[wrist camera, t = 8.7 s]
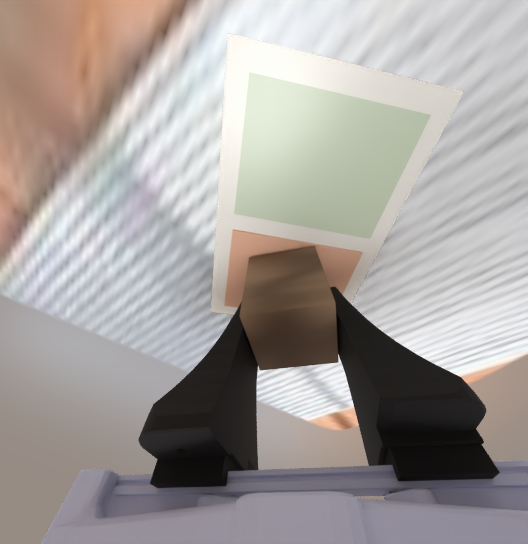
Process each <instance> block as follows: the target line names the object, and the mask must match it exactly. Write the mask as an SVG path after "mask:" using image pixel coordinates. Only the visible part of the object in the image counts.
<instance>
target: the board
mask: <svg viewBox="0 0 528 544" xmlns="http://www.w3.org/2000/svg"><path fill="white" fill-rule="evenodd" d="M463 93H464V91H460V90H456V89H452V88H448V87H444V86H440V85H436V84H432V83H428V82H424V81H419V80H415V79H411V78H407V77H403V76H399V75H395V74H391V73H387V72H383V71H379V70H375V69H371V68H367V67H363V66H359V65H355V64H351V63H347V62H343V61H339V60H335V59H331V58H327V57H323V56H319V55H315V54H311V53H306V52H302V51H298V50H294V49H290V48H286V47H282V46H278V45H274V44H270V43H266V42H262V41H258V40H254V39H250V38H246V37H242V36H238V35H234V34H230V33H228V40H227V56H226V72H225V89H224V105H223V121H222V137H221V153H220V169H219V185H218V201H217V217H216V233H215V249H214V266H213V282H212V298H211V312H216V313H223V314H230V315H234V314H235V312H236V310H237V309H238V307H239V305H240V303H241V301H242V298H243V292H244V286H245V280H246V274H247V268H248V261H249V257H255V256H261V255H267V254H272V253H278V252H284V251H289V250H295V249H301V248H306V247H312V246H315V248H316V251H317V254H318V256H319V259H320V262H321V264H322V267H323V270H324V273H325V275H326V278H327V281H328V284H329V286H330V287H336V288H337V289H338V290H339V291H340V292H341V294H342V295H343V296H344V297H345V298H346V299H347V300H348V301H349V302H350V303H351V302H352V300H353V298H354V297H355V295H356V293H357V291H358V289H359V287H360V285H361V284H362V282H363V280H364V278H365V276H366V274H367V272H368V270H369V269H370V267H371V265H372V263H373V261H374V259H375V257H376V256H377V254H378V252H379V250H380V248H381V246H382V244H383V242H384V241H385V239H386V237H387V235H388V233H389V231H390V229H391V228H392V226H393V224H394V222H395V220H396V218H397V216H398V214H399V213H400V211H401V209H402V207H403V205H404V203H405V201H406V200H407V198H408V196H409V194H410V192H411V190H412V188H413V186H414V185H415V183H416V181H417V179H418V177H419V175H420V173H421V172H422V170H423V168H424V166H425V164H426V162H427V160H428V158H429V157H430V155H431V153H432V151H433V149H434V147H435V145H436V144H437V142H438V140H439V138H440V136H441V134H442V132H443V130H444V129H445V127H446V125H447V123H448V121H449V119H450V117H451V116H452V114H453V112H454V110H455V108H456V106H457V104H458V102H459V101H460V99H461V97H462V95H463Z"/></svg>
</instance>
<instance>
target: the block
mask: <svg viewBox="0 0 528 544" xmlns="http://www.w3.org/2000/svg"><path fill="white" fill-rule="evenodd" d="M240 319H241V321H242V324H243V327H244V329H245V332H246V335H247V337H248V340H249V342H250V345H251V348H252V350H253V353H254V356H255V358H256V361H257V363H258V366H259V369H260V370H268V369H278V368H288V367H298V366H308V365H317V364H327V363H337V362H338V344H337V323H336V303H335V300H334V297H333V295H332V292H331V289H330V286H329V284H328V281H327V278H326V275H325V273H324V270H323V267H322V264H321V262H320V259H319V256H318V254H317V251H316V248H315V246H312V247H306V248H301V249H295V250H289V251H284V252H278V253H272V254H267V255H261V256H255V257H249V261H248V268H247V274H246V280H245V286H244V292H243V298H242V304H241V310H240Z"/></svg>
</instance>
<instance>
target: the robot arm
mask: <svg viewBox="0 0 528 544" xmlns="http://www.w3.org/2000/svg"><path fill="white" fill-rule="evenodd" d="M330 289H331V292H332V295H333V297H334V300H335V303H336V323H337V344H338V354H339V357H340V359H341V362H342V365H343V368H344V371H345V374H346V377H347V381H348V385H349V388H350V392H351V396H352V400H353V403H354V407H355V411H356V415H357V419H358V423H359V427H360V431H361V435H362V439H363V443H364V447H365V451H366V456H367V460H368V464H369V466H353V467H327V468H300V469H276V470H275V469H274V470H258V456H257V422H256V382H257V370H258V363H257V361H256V358H255V356H254V353H253V350H252V348H251V345H250V342H249V340H248V337H247V335H246V332H245V329H244V327H243V324H242V321H241V319H240V310H241V304H242V301H241V303H240V305H239V307H238V309H237V310H236V312H235V314H234V316H233V317H232V319H231V321H230V322H229V324H228V326H227V327H226V329H225V330H224V332H223V333H222V335H221V336H220V338H219V339H218V341H217V342H216V343H215V345H214V346H213V347H212V349H211V350H210V351H209V352H208V354H207V355H206V356H205V357H204V358H203V359H202V360H201V362H200V363H199V364H198V365H197V366H196V367H195V368H194V369H193V370H192V371H191V372H190V373H189V374H188V375H187V376H186V377H185V378H184V379H183V380H182V381H181V382H180V383H178V385H176V386H175V387H174V388H173V389H172V390H170V391H169V392H168V393H167V394H166V395H164V396H163V397H162V398H161V399H160V400H158V401H157V402H156V403H155V404H154V405H153V407H152V409H151V411H150V413H149V415H148V418H147V420H146V422H145V425H144V427H143V430H142V432H141V435H140V437H139V443H140V445H141V446H142V447H143V448H144V449H145V450H146V451H148V452H149V453H150V454H152V455H153V456H154V457H155V458H157V459H158V460H157V463H156V466H155V469H154V472H153V474H143V475H119V474H118V473H116V472H115V471H113V470H110V469H84V470H81V471H80V473H79V475H78V476H77V478H76V480H75V482H74V484H73V486H72V487H71V489H70V491H69V493H68V495H67V497H66V498H65V500H64V502H63V504H62V505H61V507H60V509H59V511H58V513H57V515H56V517H55V518H54V520H53V522H52V524H51V525H50V527H49V529H48V531H47V533H46V534H45V536H44V538H43V540H42V542H41V544H528V460H514V461H513V460H512V461H492V460H491V458H490V457H489V455H488V454H487V452H486V451H485V449H484V448H483V446H482V445H481V444H483V443H484V441H483V439H482V437H481V436H480V434H479V433H478V432H477V430H476V428H477V426H478V425H479V424H480V422H481V421H482V419H483V418H484V416H485V413H486V408H485V406H484V404H483V403H482V401H481V400H480V399H479V397H478V396H477V395H476V394H475V392H474V391H473V390H472V389H471V388H470V387H469V386H468V384H467V383H466V382H465V381H464V380H463V379H462V378H461V377H459V376H457V375H455V374H453V373H451V372H449V371H447V370H445V369H443V368H441V367H439V366H437V365H435V364H433V363H431V362H429V361H427V360H426V359H424V358H422V357H420V356H418V355H417V354H415V353H413V352H412V351H410V350H409V349H407V348H405V347H404V346H402V345H401V344H399V343H397V342H396V341H395V340H393V339H392V338H390V337H389V336H387V335H386V334H385V333H383V332H382V331H381V330H379V329H378V328H377V327H376V326H374V325H373V324H372V323H371V322H370V321H369V320H367V319H366V318H365V317H364V316H363V315H362V314H361V313H360V312H359V311H358V310H357V309H356V308H355V307H353V306H352V305H351V303H350V302H349V301H348V300H347V299H346V298H345V297H344V296H343V295H342V294H341V292H340V291H339V290H338V289H337V288H336V287H330ZM355 496H385V497H384V499H385V500H375V499H362V498H355ZM237 499H238V500H237Z"/></svg>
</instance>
